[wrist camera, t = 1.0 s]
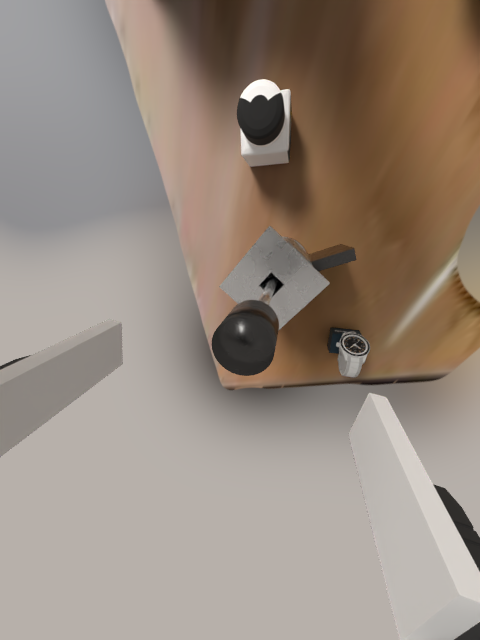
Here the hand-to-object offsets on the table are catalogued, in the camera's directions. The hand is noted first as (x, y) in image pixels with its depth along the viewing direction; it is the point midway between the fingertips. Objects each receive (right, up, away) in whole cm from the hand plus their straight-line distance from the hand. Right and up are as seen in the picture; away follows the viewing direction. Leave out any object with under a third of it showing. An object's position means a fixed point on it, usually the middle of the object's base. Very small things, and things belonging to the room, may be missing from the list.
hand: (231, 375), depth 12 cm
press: (+10, +15, +34) cm, 38 cm away
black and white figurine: (+6, +34, +28) cm, 44 cm away
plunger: (+6, +9, +23) cm, 26 cm away
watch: (+22, -1, +37) cm, 43 cm away
